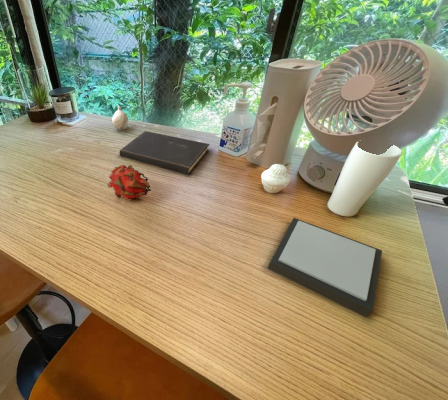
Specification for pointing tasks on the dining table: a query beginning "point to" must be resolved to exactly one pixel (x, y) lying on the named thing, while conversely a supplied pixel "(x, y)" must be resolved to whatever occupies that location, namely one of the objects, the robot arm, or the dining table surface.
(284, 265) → the scale
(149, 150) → the hardcover book
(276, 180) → the muffin
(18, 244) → the dining table surface
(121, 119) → the garlic bulb
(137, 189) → the dragon fruit
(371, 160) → the white cup
